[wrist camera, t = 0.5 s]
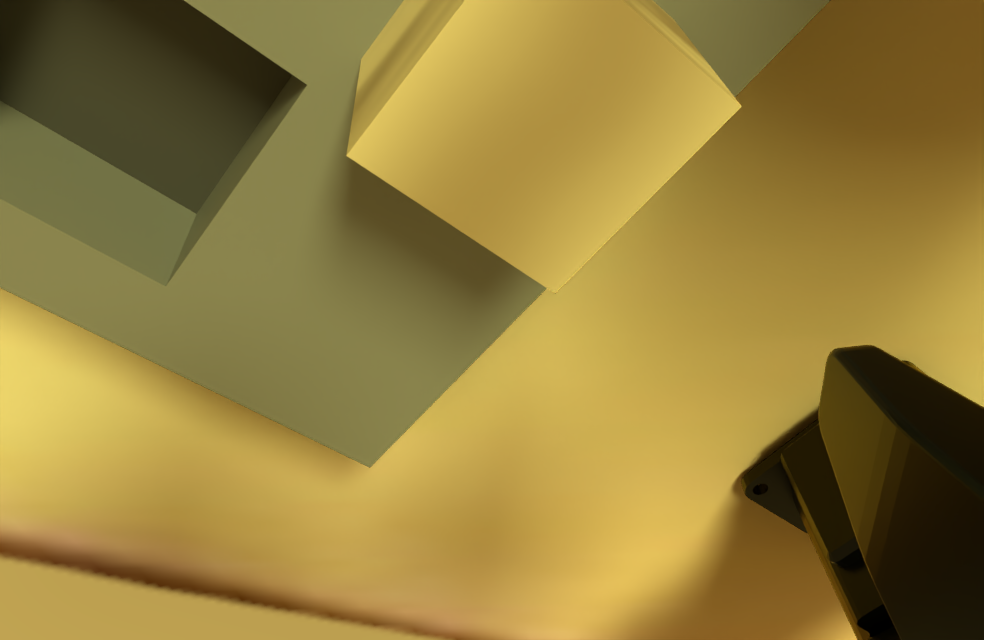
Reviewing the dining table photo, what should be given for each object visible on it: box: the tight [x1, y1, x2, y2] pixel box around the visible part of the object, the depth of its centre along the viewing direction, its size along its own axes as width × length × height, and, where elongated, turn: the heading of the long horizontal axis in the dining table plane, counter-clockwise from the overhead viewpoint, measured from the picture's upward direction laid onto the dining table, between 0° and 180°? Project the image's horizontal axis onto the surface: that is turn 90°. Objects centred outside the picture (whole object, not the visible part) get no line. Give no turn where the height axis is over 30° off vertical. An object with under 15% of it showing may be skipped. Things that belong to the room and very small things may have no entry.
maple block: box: [346, 0, 742, 294], centre depth 14 cm, size 4×4×4 cm
